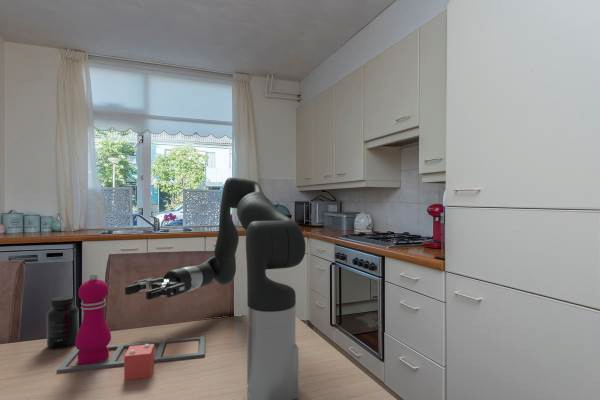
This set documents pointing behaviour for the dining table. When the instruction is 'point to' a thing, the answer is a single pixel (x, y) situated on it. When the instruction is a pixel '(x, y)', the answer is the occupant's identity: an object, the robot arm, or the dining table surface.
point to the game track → (172, 350)
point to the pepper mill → (93, 322)
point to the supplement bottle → (62, 322)
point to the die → (139, 362)
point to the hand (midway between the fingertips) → (136, 293)
